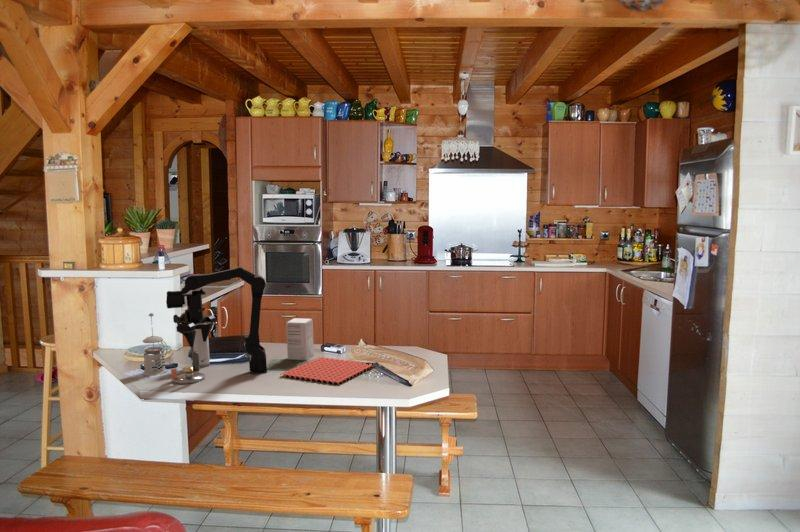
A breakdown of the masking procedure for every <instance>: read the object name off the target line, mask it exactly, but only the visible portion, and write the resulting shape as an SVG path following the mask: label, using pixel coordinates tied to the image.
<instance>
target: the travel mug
mask: <svg viewBox="0 0 800 532" xmlns="http://www.w3.org/2000/svg"><path fill="white" fill-rule="evenodd" d="M195 327H196V328H195V330H194V331H196V334H195V340H194V346H193V347H192V348H193V352H194V351H198V353H199V368H206V367H209V366H210V365H211V364H210V363H211V362H210V361H211V359H210V344H209V343H210V342H209V337H208V338H207V340H206V342H203V338H202V332H201V328H200V327H199V326H198V325H197V326H195Z"/></svg>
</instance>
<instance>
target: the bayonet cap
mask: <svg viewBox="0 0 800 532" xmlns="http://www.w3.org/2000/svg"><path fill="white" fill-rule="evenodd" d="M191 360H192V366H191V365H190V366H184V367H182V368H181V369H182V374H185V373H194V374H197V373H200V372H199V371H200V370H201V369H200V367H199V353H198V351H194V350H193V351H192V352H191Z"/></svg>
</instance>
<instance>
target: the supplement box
mask: <svg viewBox="0 0 800 532" xmlns="http://www.w3.org/2000/svg"><path fill="white" fill-rule="evenodd" d="M313 323H314V322H313V318H303V317H301V318H300V317H299V318H298V317H297V318H295V317H293V318H292V319H289V320H288V321H287V322H286V323H285V325H286V329H285V330H286V346H287V349H286V351H287V360H293V361H296V360H297V361H304V360H305V361H307V360H309V359H310V358H311V357H313V356H314V354H315V353H314V351H315V348H314V347H315V346H314V325H313Z"/></svg>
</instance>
